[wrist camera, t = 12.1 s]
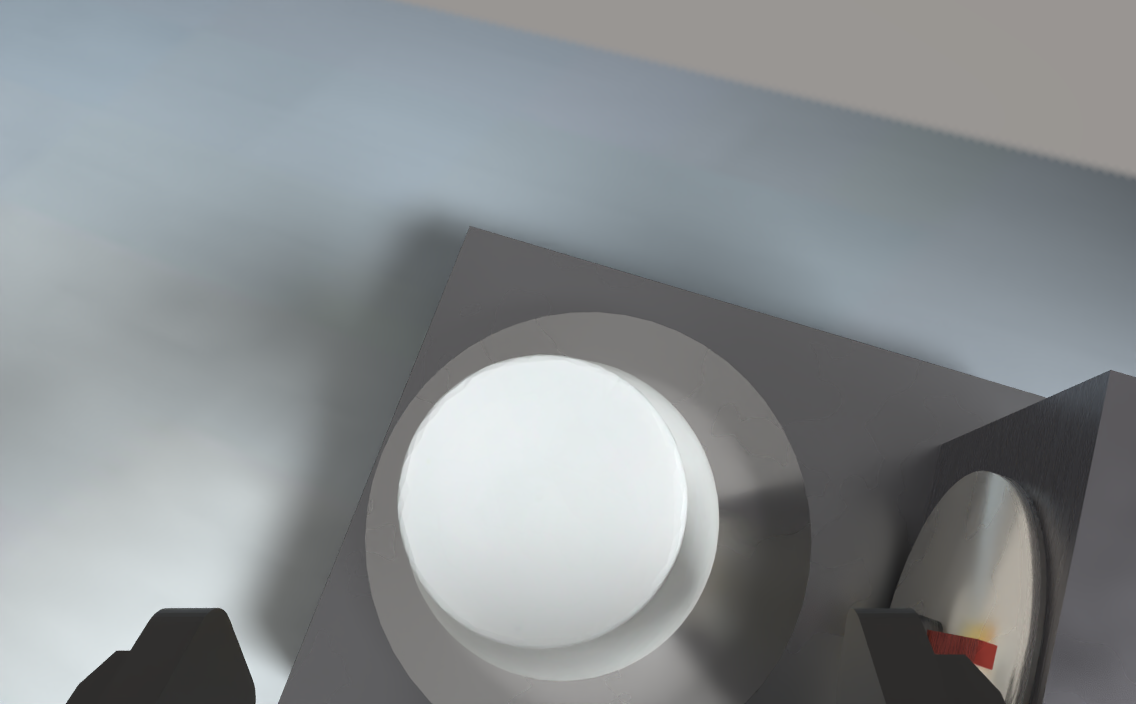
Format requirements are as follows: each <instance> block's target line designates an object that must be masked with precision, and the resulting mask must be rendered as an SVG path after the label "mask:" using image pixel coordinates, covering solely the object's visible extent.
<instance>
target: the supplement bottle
mask: <svg viewBox="0 0 1136 704" xmlns="http://www.w3.org/2000/svg"><path fill="white" fill-rule="evenodd" d="M397 506H398V520H399V529H400V533H401V538H402V542H403V546H404V549H405V552H406V555H407V557H408V559H409V563H410V566H411V569H412V572H413V575H414V578H415V581H416V583H417V586H418V588H419V590H420V592H421V594H422V596H423V598H424V600H425V601H426V603H427V605H428V606H429V608H430V610H431V611H432V613H433V614H434V616H435V617H436V618H437V620H438V621H439V622H440V623H441V625H442V626H443V627H444V628H445V629H446V630H447V631H448V632H449V633H450V634H451V636H453V637H454V638H455V639H456V640H457V641H458V642H459V643H460V644H462V645H463V646H464V647H465V648H466V649H468V650H469V651H471V652H472V653H474V654H475V655H477V656H478V657H480V658H481V659H482V660H484V661H486V662H488V663H490V664H492V665H494V666H496V667H498V668H501V669H503V670H505V671H508V672H510V673H514V674H517V675H521V676H525V677H529V678H534V679H539V680H551V681H572V680H581V679H588V678H594V677H598V676H601V675H605V674H608V673H612V672H615V671H617V670H620V669H622V668H625V667H627V666H629V665H631V664H633V663H635V662H636V661H638V660H640V659H642V658H643V657H645V656H646V655H648V654H649V653H651V652H652V651H654V650H655V649H656V648H658V647H659V646H660V645H661V644H663V643H664V642H665V641H666V640H667V639H668V638H669V637H670V636H671V635H672V634H673V633H674V632H675V631H676V630H677V629H678V628H679V627H680V625H681V624H682V623H683V622H684V620H685V619H686V618H687V616H688V615H689V614H690V612H691V611H692V609H693V608H694V606H695V604H696V603H697V601H698V599H699V597H700V595H701V593H702V591H703V589H704V587H705V585H706V582H707V580H708V578H709V575H710V573H711V569H712V566H713V562H714V559H715V554H716V549H717V541H718V532H719V507H718V496H717V491H716V486H715V481H714V477H713V474H712V470H711V467H710V464H709V462H708V459H707V457H706V454H705V451H704V449H703V447H702V445H701V443H700V441H699V440H698V438H697V436H696V435H695V433H694V431H693V430H692V428H691V427H690V426H689V424H688V423H687V421H686V420H685V419H684V417H683V416H682V415H681V414H680V412H679V411H678V410H677V409H676V408H675V407H674V406H673V405H672V404H671V403H670V402H669V401H668V400H667V399H666V398H665V397H664V396H662V395H661V394H660V393H659V392H658V391H656V390H655V389H653V388H652V387H651V386H649V385H648V384H646V383H645V382H643V381H642V380H640V379H638V378H636V377H635V376H633V375H631V374H629V373H627V372H624V371H622V370H620V369H617V368H615V367H612V366H609V365H605V364H602V363H598V362H593V361H587V360H581V359H577V358H573V357H568V356H559V355H543V354H537V355H531V356H523V357H516V358H511V359H508V360H504V361H500V362H497V363H494V364H491V365H488V366H486V367H484V368H482V369H480V370H478V371H476V372H474V373H473V374H471V375H469V376H467V377H465V378H464V379H463V380H461V381H460V382H459V383H458V384H456V385H455V386H454V387H453V388H451V389H450V390H449V391H448V392H447V393H445V394H444V395H443V396H442V397H441V398H440V399H439V400H438V401H437V402H436V404H435V405H434V406H433V407H432V408H431V409H430V411H429V412H428V413H427V415H426V416H425V418H424V419H423V420H422V422H421V424H420V425H419V427H418V428H417V430H416V432H415V434H414V435H413V437H412V439H411V442H410V444H409V447H408V449H407V452H406V455H405V458H404V461H403V464H402V468H401V473H400V479H399V486H398V495H397Z"/></svg>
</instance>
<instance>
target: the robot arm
mask: <svg viewBox="0 0 1136 704" xmlns="http://www.w3.org/2000/svg"><path fill="white" fill-rule="evenodd" d="M255 703H256V695H255V687H254V683H253V680H252V677H251V674H250V672H249V669H248V666H247V664H246V661H245V659H244V656H243V653H242V651H241V648H240V645H239V643H238V640H237V638H236V635H235V632H234V630H233V627H232V624H231V622H230V619H229V617H228V615H227V613H226V612H225V611H224V610H222V609H220V608H165V609H162V610H159V611H158V612H157V613H155V614H154V616H153V617H152V618H151V619H150V621H149V622H148V624H147V625H146V627H145V628H144V630H143V631H142V633H141V635H140V636H139V638H138V639H137V641H136V643H135V644H134V646H133V647H132V649H131V650H130V651H116V652H115V653H113V654H112V655H111V656H110V657H109V658H108V659H107V660H106V661H105V662H103V663H102V664H101V665H100V666H99V667H98V668H97V669H96V670H94V671H93V672H92V673H91V674H90V675H89V676H88V677H87V678H85V679H84V680H83V681H82V682H81V683H80V684H79V685H78V686H77V688H76V689H75V691H74V692H73V694H72V695H71V697H70V698H69V700H68V701H67V703H66V704H255ZM836 704H1006V703H1005V701H1004V699H1003V696H1002V694H1001V692H1000V691H999V690H998V689H997V688H996V687H995V686H994V685H993V684H992V682H991V681H990V680H989V679H988V678H987V677H986V676H985V675H984V674H983V673H982V672H981V671H980V670H979V669H978V668H977V667H976V665H975V664H974V663H973V662H972V661H971V660H970V659H969V658H968V657H967V656H966V655H965V654H934V651H933V649H932V646H931V644H930V641H929V639H928V636H927V634H926V631H925V629H924V626H923V624H922V621H921V619H920V617H919V615H918V614H917V612H916V611H915V610H914V609H911V608H851V609H850V610H849V611H848V614H847V618H846V625H845V632H844V639H843V646H842V653H841V661H840V668H839V675H838V682H837V691H836Z"/></svg>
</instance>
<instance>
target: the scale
mask: <svg viewBox="0 0 1136 704" xmlns="http://www.w3.org/2000/svg"><path fill="white" fill-rule="evenodd" d="M537 354H543V355H559V356H568V357H573V358H577V359H581V360H587V361H593V362H598V363H602V364H605V365H609V366H612V367H615V368H617V369H620V370H622V371H624V372H627V373H629V374H631V375H633V376H635V377H636V378H638V379H640V380H642V381H643V382H645V383H646V384H648V385H649V386H651V387H652V388H653V389H655V390H656V391H658V392H659V393H660V394H661V395H662V396H664V397H665V398H666V399H667V400H668V401H669V402H670V403H671V404H672V405H673V406H674V407H675V408H676V409H677V410H678V411H679V412H680V414H681V415H682V416H683V417H684V419H685V420H686V421H687V423H688V424H689V426H690V427H691V428H692V430H693V431H694V433H695V435H696V436H697V438H698V440H699V441H700V443H701V445H702V447H703V449H704V451H705V454H706V457H707V459H708V462H709V464H710V467H711V470H712V474H713V477H714V481H715V486H716V491H717V496H718V507H719V532H718V541H717V549H716V554H715V559H714V562H713V566H712V569H711V573H710V575H709V578H708V580H707V582H706V585H705V587H704V589H703V591H702V593H701V595H700V597H699V599H698V601H697V603H696V604H695V606H694V608H693V609H692V611H691V612H690V614H689V615H688V616H687V618H686V619H685V620H684V622H683V623H682V624H681V625H680V627H679V628H678V629H677V630H676V631H675V632H674V633H673V634H672V635H671V636H670V637H669V638H668V639H667V640H666V641H665V642H664V643H663V644H661V645H660V646H659V647H658V648H656V649H655V650H654V651H652V652H651V653H649V654H648V655H646V656H645V657H643V658H642V659H640V660H638V661H636V662H635V663H633V664H631V665H629V666H627V667H625V668H622V669H620V670H617V671H615V672H612V673H608V674H605V675H601V676H598V677H594V678H588V679H581V680H572V681H551V680H539V679H534V678H529V677H525V676H521V675H517V674H514V673H510V672H508V671H505V670H503V669H501V668H498V667H496V666H494V665H492V664H490V663H488V662H486V661H484V660H482V659H481V658H480V657H478V656H477V655H475V654H474V653H472V652H471V651H469V650H468V649H466V648H465V647H464V646H463V645H462V644H460V643H459V642H458V641H457V640H456V639H455V638H454V637H453V636H451V634H450V633H449V632H448V631H447V630H446V629H445V628H444V627H443V626H442V625H441V623H440V622H439V621H438V620H437V618H436V617H435V616H434V614H433V613H432V611H431V610H430V608H429V606H428V605H427V603H426V601H425V600H424V598H423V596H422V594H421V592H420V590H419V588H418V586H417V583H416V581H415V578H414V575H413V572H412V569H411V566H410V563H409V559H408V557H407V555H406V552H405V549H404V546H403V542H402V538H401V533H400V529H399V520H398V506H397V495H398V486H399V479H400V473H401V468H402V464H403V461H404V458H405V455H406V452H407V449H408V447H409V444H410V442H411V439H412V437H413V435H414V434H415V432H416V430H417V428H418V427H419V425H420V424H421V422H422V420H423V419H424V418H425V416H426V415H427V413H428V412H429V411H430V409H431V408H432V407H433V406H434V405H435V404H436V402H437V401H438V400H439V399H440V398H441V397H442V396H443V395H444V394H445V393H447V392H448V391H449V390H450V389H451V388H453V387H454V386H455V385H456V384H458V383H459V382H460V381H461V380H463V379H464V378H465V377H467V376H469V375H471V374H473V373H474V372H476V371H478V370H480V369H482V368H484V367H486V366H488V365H491V364H494V363H497V362H500V361H504V360H508V359H511V358H516V357H523V356H531V355H537ZM851 608H911V609H914V610H915V611H916V612H917V614H918V615H919V617H920V619H921V621H922V624H923V626H924V629H925V631H926V634H927V636H928V639H929V641H930V644H931V646H932V649H933V651H934V654H965V655H966V656H967V657H968V658H969V659H970V660H971V661H972V662H973V663H974V664H975V665H976V667H977V668H978V669H979V670H980V671H981V672H982V673H983V674H984V675H985V676H986V677H987V678H988V679H989V680H990V681H991V682H992V684H993V685H994V686H995V687H996V688H997V689H998V690H999V691H1000V692H1001V694H1002V696H1003V699H1004V701H1005V703H1006V704H1136V377H1133V376H1129V375H1126V374H1122V373H1119V372H1115V371H1112V370H1110V371H1108V372H1105V373H1103V374H1101V375H1098V376H1096V377H1094V378H1092V379H1089V380H1087V381H1085V382H1082V383H1080V384H1078V385H1076V386H1073V387H1071V388H1069V389H1067V390H1064V391H1062V392H1060V393H1057V394H1055V395H1053V396H1051V397H1048V398H1045V397H1042V396H1039V395H1035V394H1032V393H1028V392H1025V391H1022V390H1018V389H1015V388H1012V387H1008V386H1005V385H1002V384H998V383H995V382H992V381H988V380H985V379H982V378H978V377H975V376H971V375H968V374H965V373H961V372H958V371H955V370H951V369H948V368H945V367H941V366H938V365H935V364H931V363H928V362H924V361H921V360H918V359H914V358H911V357H908V356H904V355H901V354H898V353H894V352H891V351H888V350H884V349H881V348H877V347H874V346H871V345H867V344H864V343H861V342H857V341H854V340H851V339H847V338H844V337H841V336H837V335H834V334H830V333H827V332H824V331H820V330H817V329H814V328H810V327H807V326H804V325H800V324H797V323H794V322H790V321H787V320H783V319H780V318H777V317H773V316H770V315H767V314H763V313H760V312H757V311H753V310H750V309H747V308H743V307H740V306H736V305H733V304H730V303H726V302H723V301H720V300H716V299H713V298H710V297H706V296H703V295H700V294H696V293H693V292H690V291H686V290H683V289H679V288H676V287H673V286H669V285H666V284H663V283H659V282H656V281H653V280H649V279H646V278H643V277H639V276H636V275H632V274H629V273H626V272H622V271H619V270H616V269H612V268H609V267H606V266H602V265H599V264H596V263H592V262H589V261H585V260H582V259H579V258H575V257H572V256H569V255H565V254H562V253H559V252H555V251H552V250H549V249H545V248H542V247H538V246H535V245H532V244H528V243H525V242H522V241H518V240H515V239H512V238H508V237H505V236H502V235H498V234H495V233H491V232H488V231H485V230H481V229H478V228H475V227H471V226H470V227H469V230H468V232H467V235H466V237H465V240H464V242H463V245H462V247H461V250H460V252H459V255H458V257H457V260H456V262H455V265H454V267H453V270H452V272H451V275H450V277H449V280H448V282H447V285H446V287H445V290H444V292H443V295H442V297H441V300H440V302H439V305H438V307H437V310H436V312H435V315H434V317H433V319H432V322H431V324H430V327H429V329H428V332H427V334H426V337H425V339H424V342H423V344H422V347H421V349H420V352H419V354H418V357H417V359H416V362H415V364H414V367H413V369H412V372H411V374H410V377H409V379H408V382H407V384H406V387H405V389H404V392H403V394H402V397H401V399H400V402H399V404H398V407H397V409H396V412H395V414H394V417H393V419H392V421H391V424H390V426H389V429H388V431H387V434H386V436H385V439H384V441H383V444H382V446H381V449H380V451H379V454H378V456H377V459H376V461H375V464H374V466H373V469H372V471H371V474H370V476H369V479H368V481H367V484H366V486H365V489H364V491H363V494H362V496H361V499H360V501H359V504H358V506H357V509H356V511H355V514H354V516H353V519H352V521H351V523H350V526H349V528H348V531H347V533H346V536H345V538H344V541H343V543H342V546H341V548H340V551H339V553H338V556H337V558H336V561H335V563H334V566H333V568H332V571H331V573H330V576H329V578H328V581H327V583H326V586H325V588H324V591H323V593H322V596H321V598H320V601H319V603H318V606H317V608H316V611H315V613H314V616H313V618H312V621H311V623H310V625H309V628H308V630H307V633H306V635H305V638H304V640H303V643H302V645H301V648H300V650H299V653H298V655H297V658H296V660H295V663H294V665H293V668H292V670H291V673H290V675H289V678H288V680H287V683H286V685H285V688H284V690H283V693H282V695H281V698H280V700H279V703H278V704H836V691H837V682H838V675H839V668H840V661H841V653H842V646H843V639H844V632H845V625H846V618H847V614H848V611H849V610H850V609H851Z"/></svg>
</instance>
